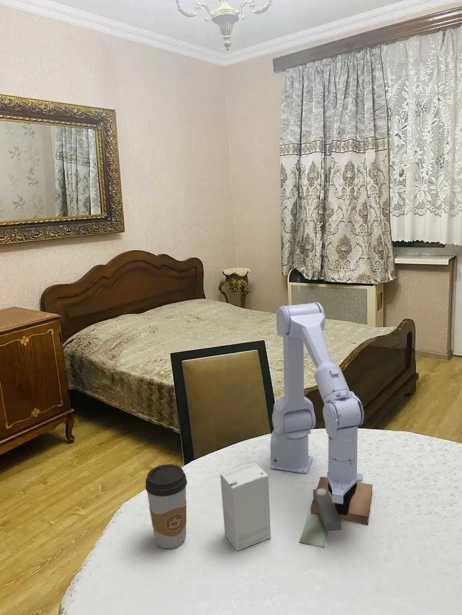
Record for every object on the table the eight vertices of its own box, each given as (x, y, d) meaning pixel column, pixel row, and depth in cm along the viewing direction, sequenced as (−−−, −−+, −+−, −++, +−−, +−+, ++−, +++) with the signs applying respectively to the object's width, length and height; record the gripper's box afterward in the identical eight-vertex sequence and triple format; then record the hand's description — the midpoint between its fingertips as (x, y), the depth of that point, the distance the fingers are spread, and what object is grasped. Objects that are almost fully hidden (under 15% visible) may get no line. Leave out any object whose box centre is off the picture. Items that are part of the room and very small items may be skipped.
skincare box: (257, 522, 105) (255, 460, 102) (272, 539, 100) (270, 474, 97) (222, 535, 102) (218, 471, 98) (235, 553, 96) (232, 486, 93)
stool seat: (299, 542, 99) (299, 534, 98) (318, 483, 118) (318, 476, 118) (363, 555, 94) (363, 546, 94) (372, 492, 114) (372, 484, 113)
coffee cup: (158, 559, 96) (152, 490, 93) (145, 534, 103) (139, 470, 100) (197, 543, 100) (192, 477, 96) (182, 521, 107) (177, 458, 104)
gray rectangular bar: (313, 497, 109) (313, 487, 109) (326, 496, 109) (326, 486, 109) (326, 531, 98) (326, 521, 97) (341, 530, 98) (341, 519, 98)
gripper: (359, 477, 91) (358, 540, 94) (366, 440, 104) (365, 496, 108) (321, 471, 94) (321, 533, 97) (332, 435, 107) (332, 491, 110)
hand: (342, 513), depth 102 cm, fingers closed
